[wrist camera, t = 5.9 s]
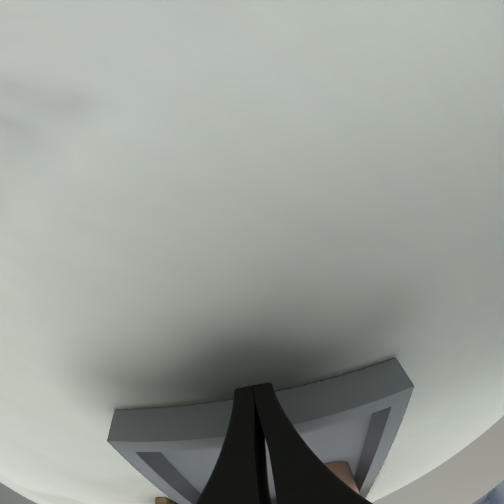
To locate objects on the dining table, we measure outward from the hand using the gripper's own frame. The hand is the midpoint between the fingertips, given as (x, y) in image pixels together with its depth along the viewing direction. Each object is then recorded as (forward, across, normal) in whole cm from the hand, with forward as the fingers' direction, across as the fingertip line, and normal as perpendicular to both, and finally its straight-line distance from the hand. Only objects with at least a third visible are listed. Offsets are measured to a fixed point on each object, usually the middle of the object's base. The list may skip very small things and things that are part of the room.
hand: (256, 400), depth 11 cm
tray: (+2, 0, +10) cm, 10 cm away
